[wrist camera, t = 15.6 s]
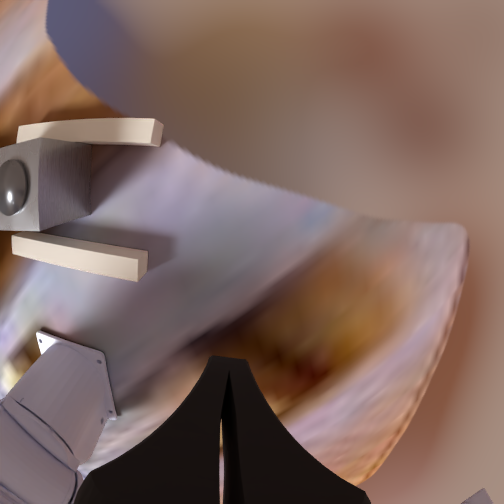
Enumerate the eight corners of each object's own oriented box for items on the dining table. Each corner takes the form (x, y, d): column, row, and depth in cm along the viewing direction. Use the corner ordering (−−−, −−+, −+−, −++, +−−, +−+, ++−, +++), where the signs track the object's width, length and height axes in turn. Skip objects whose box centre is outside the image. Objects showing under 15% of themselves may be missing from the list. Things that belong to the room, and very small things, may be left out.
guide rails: (147, 271, 18) (137, 282, 16) (26, 247, 17) (12, 253, 15) (163, 124, 16) (154, 118, 14) (34, 128, 15) (19, 126, 13)
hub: (90, 214, 17) (36, 232, 11) (43, 215, 17) (-11, 231, 10) (92, 145, 16) (37, 136, 9) (44, 152, 15) (-12, 150, 9)
